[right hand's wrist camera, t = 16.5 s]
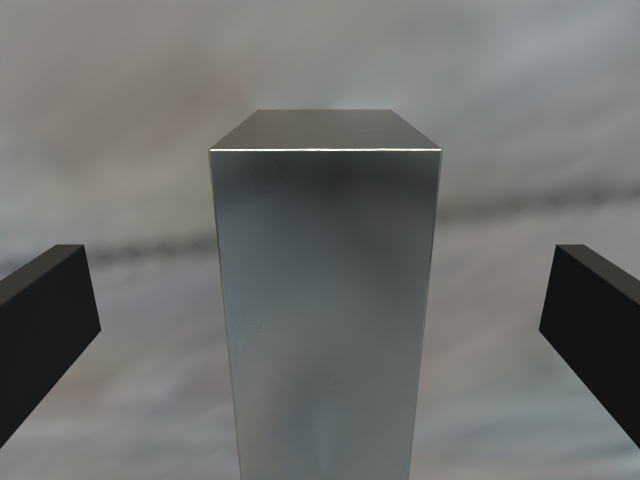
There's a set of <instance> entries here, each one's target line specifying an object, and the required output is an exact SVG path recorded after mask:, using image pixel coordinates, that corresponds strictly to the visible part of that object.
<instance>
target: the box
mask: <svg viewBox="0 0 640 480" xmlns="http://www.w3.org/2000/svg"><path fill="white" fill-rule="evenodd" d="M208 152H209V162H210V172H211V182H212V192H213V202H214V212H215V222H216V232H217V243H218V253H219V263H220V273H221V283H222V293H223V303H224V313H225V323H226V333H227V343H228V353H229V363H230V373H231V384H232V394H233V404H234V414H235V424H236V434H237V444H238V454H239V464H240V474H241V480H409V470H410V460H411V451H412V441H413V432H414V422H415V412H416V403H417V393H418V383H419V374H420V364H421V355H422V345H423V335H424V326H425V316H426V306H427V297H428V287H429V278H430V268H431V258H432V249H433V239H434V229H435V220H436V210H437V201H438V191H439V181H440V172H441V162H442V152H443V151H442V149H441V148H440V147H439V146H438V145H436V144H435V143H434V142H432V141H431V140H430V139H428V138H427V137H426V136H425V135H423V134H422V133H421V132H419V131H418V130H417V129H416V128H414V127H413V126H412V125H410V124H409V123H408V122H406V121H405V120H404V119H403V118H401V117H400V116H399V115H397V114H396V113H395V112H393V111H392V110H257V111H256V112H255V113H254V114H252V115H251V116H250V117H249V118H247V119H246V120H245V121H244V122H242V123H241V124H240V125H239V126H237V127H236V128H235V129H234V130H232V131H231V132H230V133H229V134H227V135H226V136H225V137H224V138H222V139H221V140H220V141H219V142H217V143H216V144H215V145H214V146H212V147H211V148H210V149H209V151H208Z"/></svg>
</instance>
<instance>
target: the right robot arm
mask: <svg viewBox="0 0 640 480" xmlns="http://www.w3.org/2000/svg"><path fill="white" fill-rule="evenodd" d="M100 331H101V327H100V322H99V317H98V312H97V307H96V302H95V297H94V292H93V287H92V282H91V277H90V273H89V268H88V263H87V258H86V253H85V248H84V245H55V246H53V247H52V248H50V249H49V250H47V251H46V252H44V253H43V254H41V255H40V256H38V257H36V258H35V259H33V260H32V261H30V262H29V263H27V264H26V265H24V266H23V267H21V268H19V269H18V270H16V271H15V272H13V273H12V274H10V275H9V276H7V277H6V278H4V279H3V280H1V281H0V449H1V447H2V446H3V445H4V444H5V443H6V442H7V440H8V439H9V438H10V437H11V436H12V435H13V433H14V432H15V431H16V430H17V429H18V427H19V426H20V425H21V424H22V423H23V422H24V420H25V419H26V418H27V417H28V416H29V415H30V413H31V412H32V411H33V410H34V409H35V407H36V406H37V405H38V404H39V403H40V402H41V400H42V399H43V398H44V397H45V396H46V395H47V393H48V392H49V391H50V390H51V389H52V388H53V386H54V385H55V384H56V383H57V382H58V380H59V379H60V378H61V377H62V376H63V375H64V373H65V372H66V371H67V370H68V369H69V368H70V366H71V365H72V364H73V363H74V362H75V360H76V359H77V358H78V357H79V356H80V355H81V353H82V352H83V351H84V350H85V349H86V348H87V346H88V345H89V344H90V343H91V342H92V341H93V339H94V338H95V337H96V336H97V335H98V333H99V332H100ZM539 331H540V332H541V333H542V335H543V336H544V337H545V338H546V339H547V341H548V342H549V343H550V344H551V345H552V346H553V348H554V349H555V350H556V351H557V352H558V353H559V355H560V356H561V357H562V358H563V359H564V360H565V362H566V363H567V364H568V365H569V366H570V368H571V369H572V370H573V371H574V372H575V373H576V375H577V376H578V377H579V378H580V379H581V380H582V382H583V383H584V384H585V385H586V386H587V388H588V389H589V390H590V391H591V392H592V393H593V395H594V396H595V397H596V398H597V399H598V400H599V402H600V403H601V404H602V405H603V406H604V407H605V409H606V410H607V411H608V412H609V413H610V415H611V416H612V417H613V418H614V419H615V420H616V422H617V423H618V424H619V425H620V426H621V427H622V429H623V430H624V431H625V432H626V433H627V435H628V436H629V437H630V438H631V439H632V440H633V442H634V443H635V444H636V445H637V446H638V447H639V449H640V281H639V280H637V279H636V278H634V277H633V276H631V275H630V274H628V273H627V272H625V271H624V270H622V269H621V268H619V267H617V266H616V265H614V264H613V263H611V262H610V261H608V260H607V259H605V258H604V257H602V256H600V255H599V254H597V253H596V252H594V251H593V250H591V249H590V248H588V247H587V246H585V245H556V248H555V253H554V258H553V263H552V268H551V273H550V277H549V282H548V287H547V292H546V297H545V302H544V307H543V312H542V317H541V322H540V327H539Z"/></svg>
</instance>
